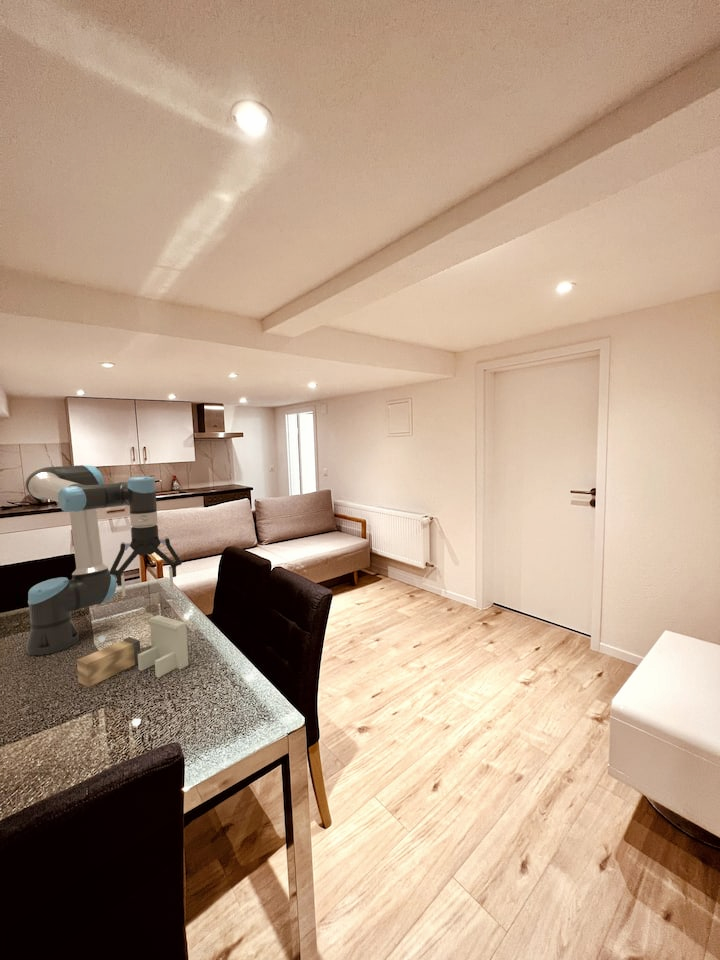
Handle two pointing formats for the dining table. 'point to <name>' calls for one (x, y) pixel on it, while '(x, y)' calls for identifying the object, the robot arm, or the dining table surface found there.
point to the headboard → (165, 646)
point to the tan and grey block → (108, 661)
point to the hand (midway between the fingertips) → (148, 591)
